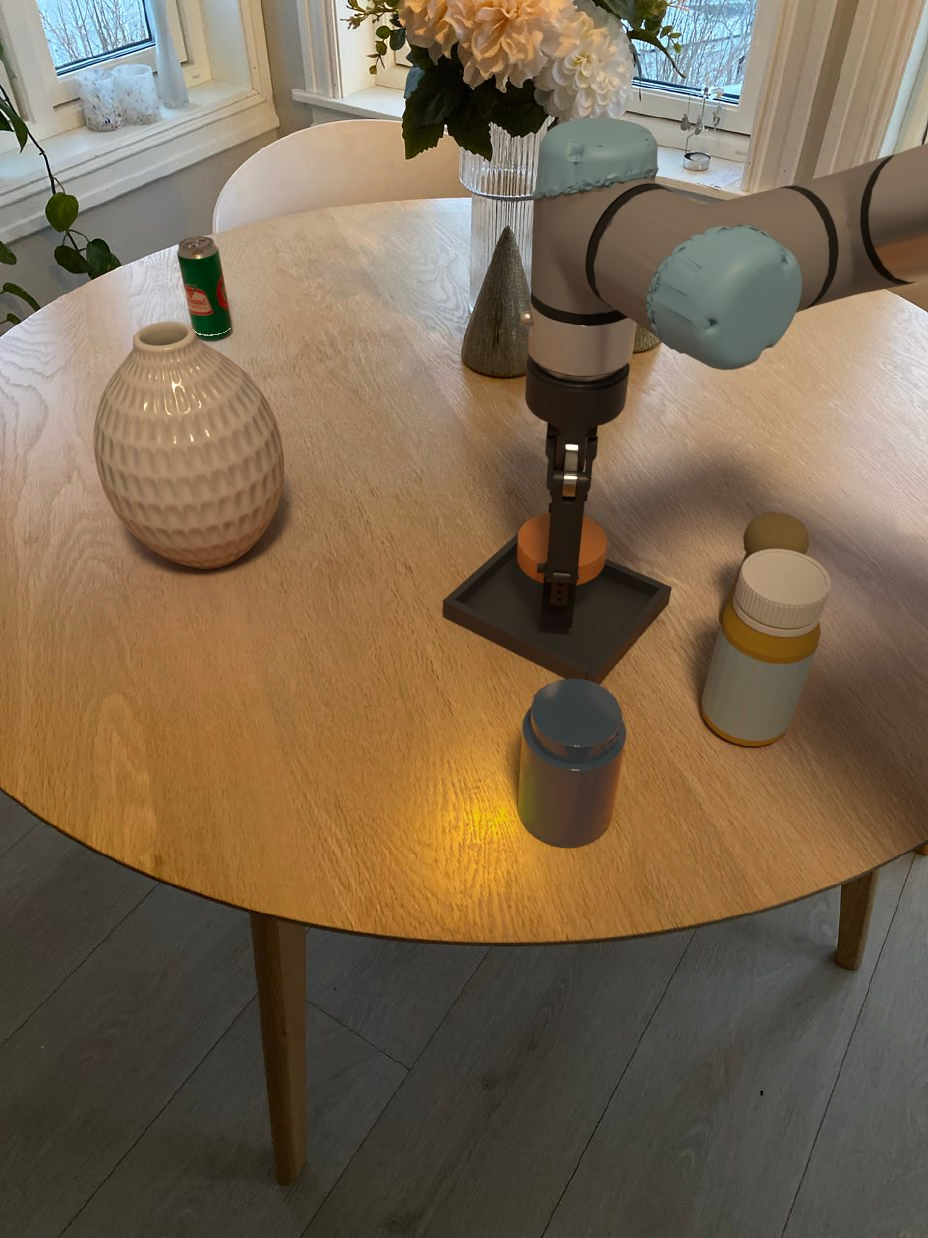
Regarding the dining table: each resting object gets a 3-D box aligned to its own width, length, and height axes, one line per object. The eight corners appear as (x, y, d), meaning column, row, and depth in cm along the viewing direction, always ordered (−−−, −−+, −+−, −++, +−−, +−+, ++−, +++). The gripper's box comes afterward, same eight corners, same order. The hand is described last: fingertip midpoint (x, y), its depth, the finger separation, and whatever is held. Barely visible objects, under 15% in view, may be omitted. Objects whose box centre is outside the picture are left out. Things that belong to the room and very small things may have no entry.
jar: (629, 799, 71) (648, 702, 64) (580, 865, 67) (595, 770, 60) (550, 755, 74) (559, 658, 67) (499, 816, 70) (502, 720, 63)
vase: (91, 577, 90) (15, 360, 75) (188, 483, 101) (139, 278, 86) (240, 620, 86) (192, 400, 70) (325, 518, 97) (299, 308, 81)
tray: (669, 603, 87) (672, 586, 86) (593, 692, 79) (595, 676, 78) (526, 540, 94) (527, 524, 93) (442, 616, 86) (442, 600, 85)
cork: (784, 652, 83) (816, 553, 75) (714, 636, 84) (738, 537, 77) (790, 607, 87) (821, 509, 79) (723, 593, 88) (747, 495, 81)
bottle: (782, 761, 74) (833, 619, 64) (692, 737, 76) (727, 595, 66) (792, 698, 79) (841, 557, 69) (707, 677, 81) (742, 536, 70)
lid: (499, 564, 82) (499, 544, 81) (546, 520, 86) (547, 501, 85) (575, 599, 79) (577, 579, 77) (621, 551, 83) (623, 532, 82)
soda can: (186, 335, 125) (166, 244, 117) (214, 321, 128) (196, 231, 120) (213, 346, 123) (195, 254, 115) (241, 331, 126) (225, 240, 118)
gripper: (534, 293, 77) (523, 520, 93) (517, 430, 63) (507, 671, 78) (628, 298, 77) (600, 525, 92) (633, 436, 62) (599, 679, 78)
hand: (557, 592), depth 85 cm, fingers closed on lid, 7 cm apart
